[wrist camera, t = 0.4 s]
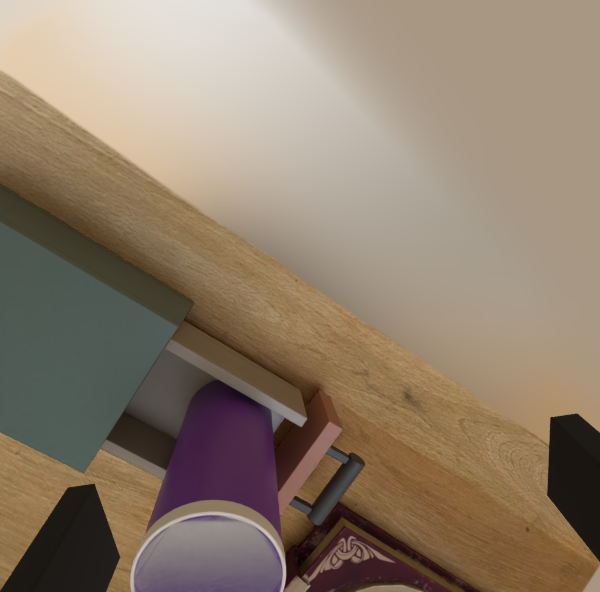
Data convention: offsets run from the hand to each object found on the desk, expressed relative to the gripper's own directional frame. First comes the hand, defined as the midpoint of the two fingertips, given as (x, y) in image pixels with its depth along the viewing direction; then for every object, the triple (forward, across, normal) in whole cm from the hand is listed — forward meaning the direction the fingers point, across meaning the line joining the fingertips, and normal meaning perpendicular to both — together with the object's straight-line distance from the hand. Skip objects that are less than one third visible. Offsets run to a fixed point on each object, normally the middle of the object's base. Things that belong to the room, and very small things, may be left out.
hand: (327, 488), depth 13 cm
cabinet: (+21, -18, +1) cm, 28 cm away
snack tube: (+19, -7, -9) cm, 22 cm away
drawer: (+20, -6, -10) cm, 23 cm away
